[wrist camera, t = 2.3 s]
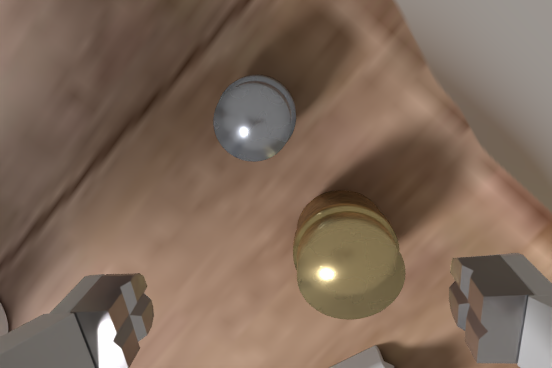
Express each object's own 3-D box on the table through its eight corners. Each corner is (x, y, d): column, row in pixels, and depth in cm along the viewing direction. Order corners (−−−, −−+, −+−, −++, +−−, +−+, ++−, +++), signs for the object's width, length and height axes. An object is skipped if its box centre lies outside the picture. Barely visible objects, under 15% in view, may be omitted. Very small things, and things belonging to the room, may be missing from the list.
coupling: (237, 150, 30) (223, 173, 25) (216, 82, 29) (197, 91, 23) (303, 134, 30) (304, 155, 24) (286, 63, 28) (283, 68, 22)
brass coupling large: (305, 276, 34) (306, 330, 28) (283, 198, 32) (280, 237, 25) (393, 260, 33) (416, 312, 27) (378, 177, 31) (401, 213, 24)
